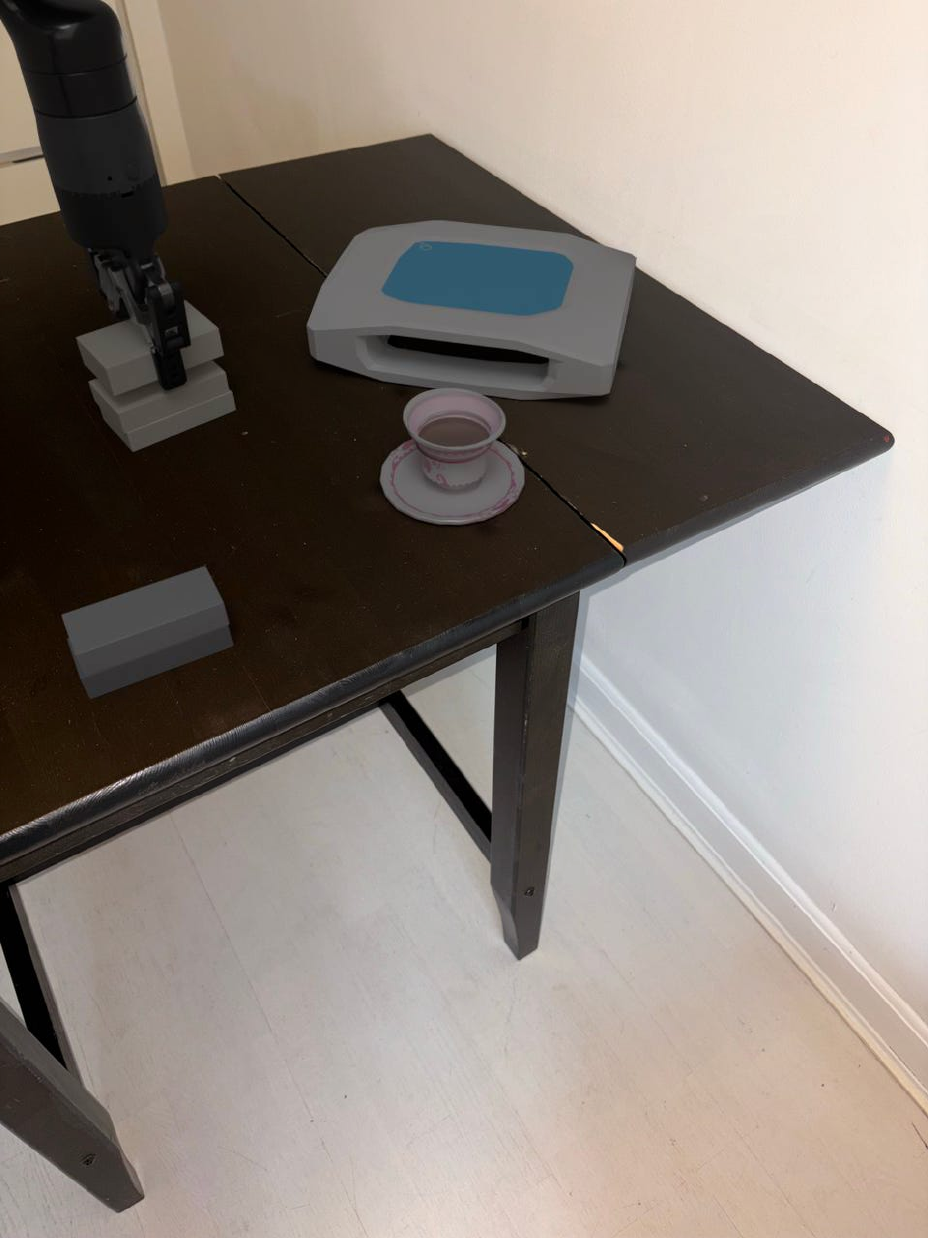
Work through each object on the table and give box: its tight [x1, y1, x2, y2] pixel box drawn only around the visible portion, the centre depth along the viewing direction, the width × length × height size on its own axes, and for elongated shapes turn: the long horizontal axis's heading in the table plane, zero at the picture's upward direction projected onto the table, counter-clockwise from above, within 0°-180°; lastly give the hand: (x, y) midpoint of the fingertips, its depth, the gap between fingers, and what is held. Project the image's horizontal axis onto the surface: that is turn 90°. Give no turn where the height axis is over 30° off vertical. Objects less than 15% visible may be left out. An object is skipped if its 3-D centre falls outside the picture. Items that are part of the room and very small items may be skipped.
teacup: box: [379, 388, 525, 526], centre depth 77 cm, size 12×12×6 cm
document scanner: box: [306, 219, 638, 401], centre depth 92 cm, size 21×28×6 cm
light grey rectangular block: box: [75, 299, 225, 396], centre depth 80 cm, size 10×6×3 cm, turn 128°
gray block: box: [61, 565, 235, 700], centre depth 64 cm, size 10×4×4 cm, turn 118°
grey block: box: [88, 359, 237, 453], centre depth 84 cm, size 10×6×4 cm, turn 128°
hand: (156, 368), depth 81 cm, fingers closed on light grey rectangular block, 6 cm apart
